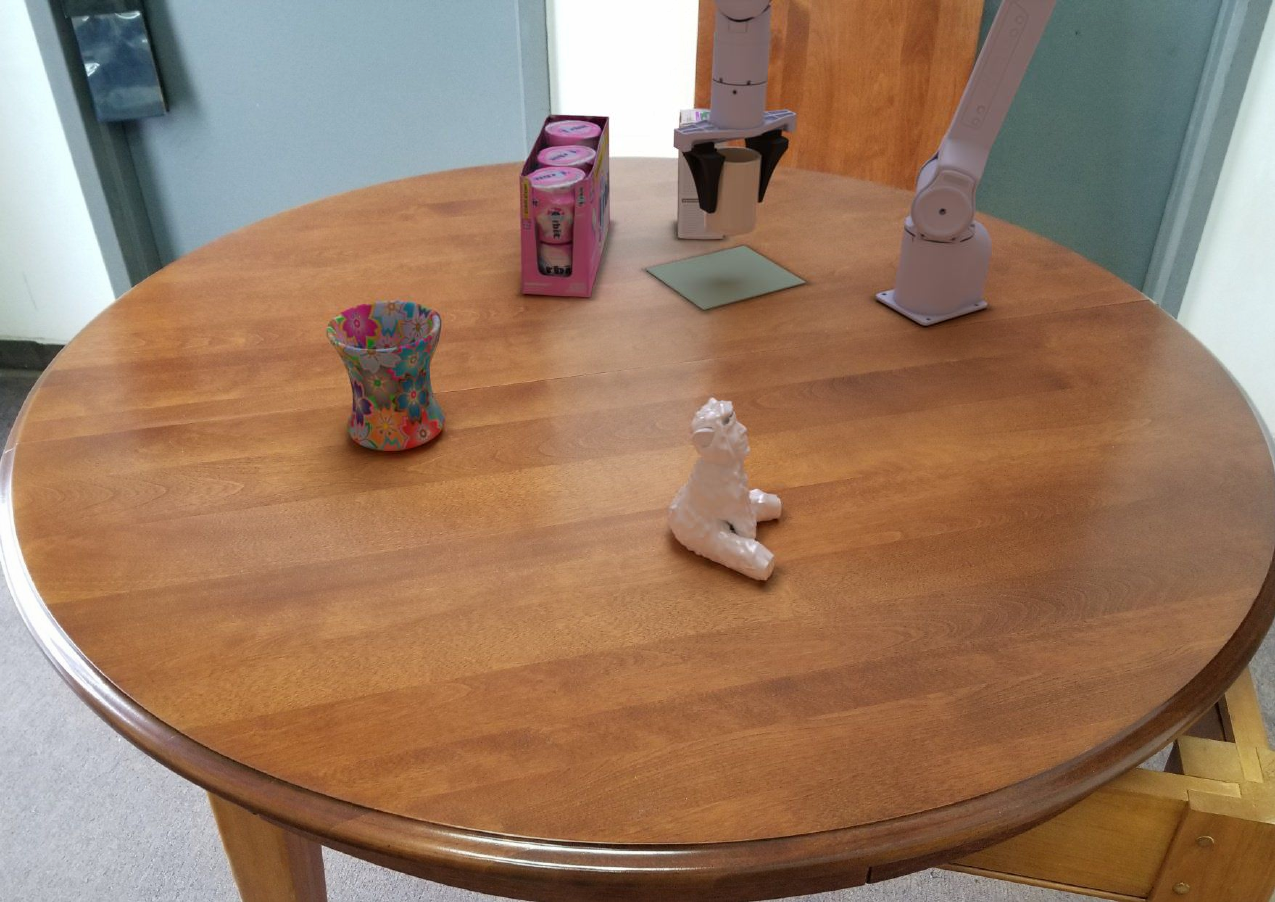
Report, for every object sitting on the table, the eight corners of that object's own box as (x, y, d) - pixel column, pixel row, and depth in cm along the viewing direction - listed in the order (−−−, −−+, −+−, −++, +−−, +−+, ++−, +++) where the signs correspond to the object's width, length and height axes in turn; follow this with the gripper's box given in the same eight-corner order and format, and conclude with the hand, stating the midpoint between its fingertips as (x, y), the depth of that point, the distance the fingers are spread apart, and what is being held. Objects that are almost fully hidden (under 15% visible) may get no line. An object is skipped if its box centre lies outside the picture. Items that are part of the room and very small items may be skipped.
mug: (407, 471, 90) (393, 360, 84) (321, 443, 94) (302, 334, 88) (487, 406, 99) (479, 301, 93) (406, 382, 103) (393, 280, 97)
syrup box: (723, 240, 132) (730, 122, 124) (675, 239, 132) (679, 121, 124) (721, 222, 137) (727, 108, 129) (675, 221, 137) (678, 107, 129)
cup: (736, 212, 122) (740, 143, 118) (766, 229, 118) (772, 158, 114) (693, 221, 120) (696, 151, 115) (723, 239, 116) (727, 167, 111)
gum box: (590, 304, 117) (589, 183, 110) (518, 301, 118) (512, 180, 110) (611, 222, 137) (610, 115, 129) (549, 219, 137) (545, 112, 130)
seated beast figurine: (772, 587, 78) (787, 451, 72) (656, 573, 80) (660, 437, 73) (781, 511, 86) (794, 381, 80) (675, 499, 87) (679, 370, 81)
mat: (744, 247, 131) (744, 245, 131) (805, 283, 122) (805, 281, 122) (646, 270, 125) (646, 268, 125) (703, 310, 116) (703, 308, 116)
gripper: (772, 61, 116) (763, 182, 124) (659, 77, 110) (656, 204, 117) (813, 76, 111) (801, 202, 119) (697, 94, 105) (691, 226, 112)
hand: (731, 205), depth 118 cm, fingers closed on cup, 6 cm apart
